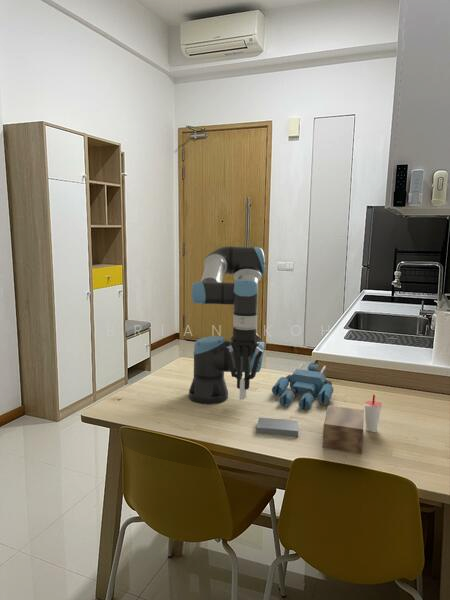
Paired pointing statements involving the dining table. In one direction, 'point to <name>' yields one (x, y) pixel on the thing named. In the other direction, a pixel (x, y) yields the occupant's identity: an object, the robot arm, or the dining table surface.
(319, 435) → the dining table surface
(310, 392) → the toy
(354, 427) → the brown wooden block
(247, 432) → the dining table surface
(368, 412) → the cup
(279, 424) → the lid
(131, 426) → the dining table surface
